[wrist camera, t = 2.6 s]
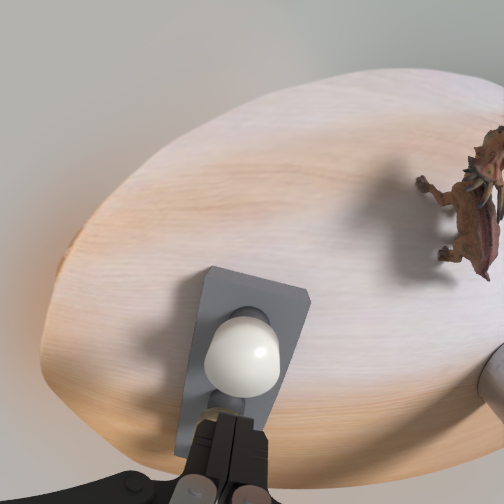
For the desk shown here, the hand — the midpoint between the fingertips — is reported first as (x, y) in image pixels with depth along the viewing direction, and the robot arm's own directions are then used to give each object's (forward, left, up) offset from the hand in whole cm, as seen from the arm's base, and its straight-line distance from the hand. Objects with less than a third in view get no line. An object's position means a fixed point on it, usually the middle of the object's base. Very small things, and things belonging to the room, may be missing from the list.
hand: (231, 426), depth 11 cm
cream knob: (0, 0, -8) cm, 8 cm away
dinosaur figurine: (-5, -20, -14) cm, 25 cm away
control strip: (-5, +6, -14) cm, 16 cm away
